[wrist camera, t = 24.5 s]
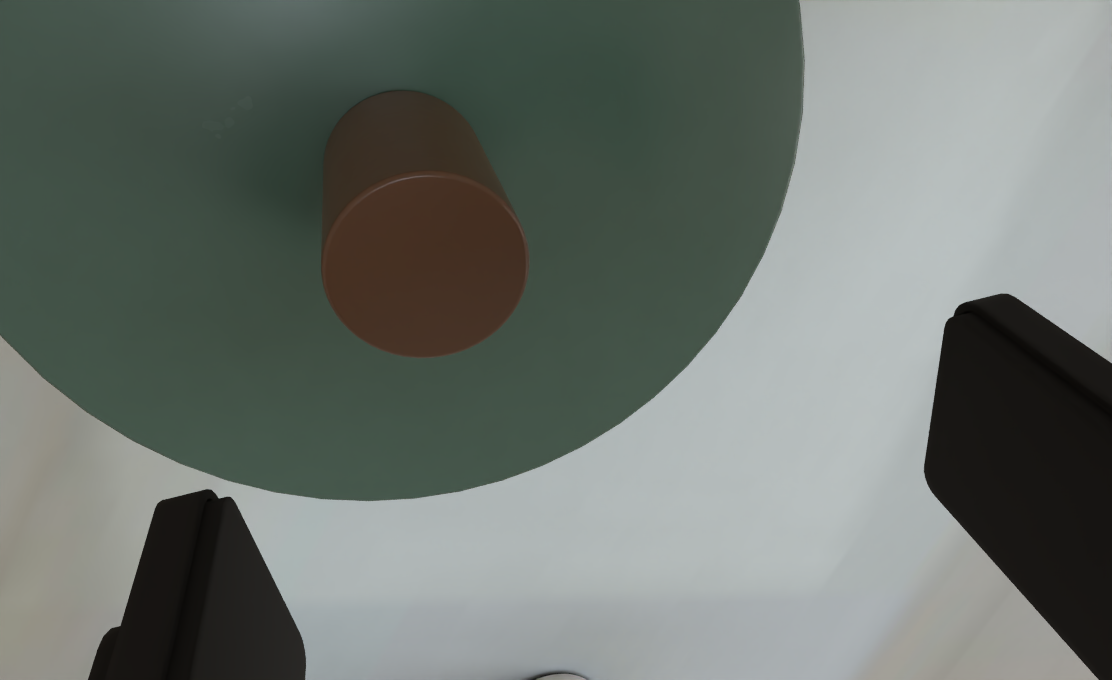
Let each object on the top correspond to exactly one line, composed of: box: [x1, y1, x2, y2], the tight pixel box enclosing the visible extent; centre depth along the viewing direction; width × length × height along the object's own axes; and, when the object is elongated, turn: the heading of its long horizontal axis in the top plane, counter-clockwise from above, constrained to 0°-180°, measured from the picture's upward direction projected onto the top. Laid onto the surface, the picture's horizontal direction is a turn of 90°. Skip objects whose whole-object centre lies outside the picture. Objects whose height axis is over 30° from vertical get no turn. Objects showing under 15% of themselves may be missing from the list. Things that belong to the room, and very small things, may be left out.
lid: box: [0, 0, 805, 501], centre depth 13 cm, size 15×15×5 cm
